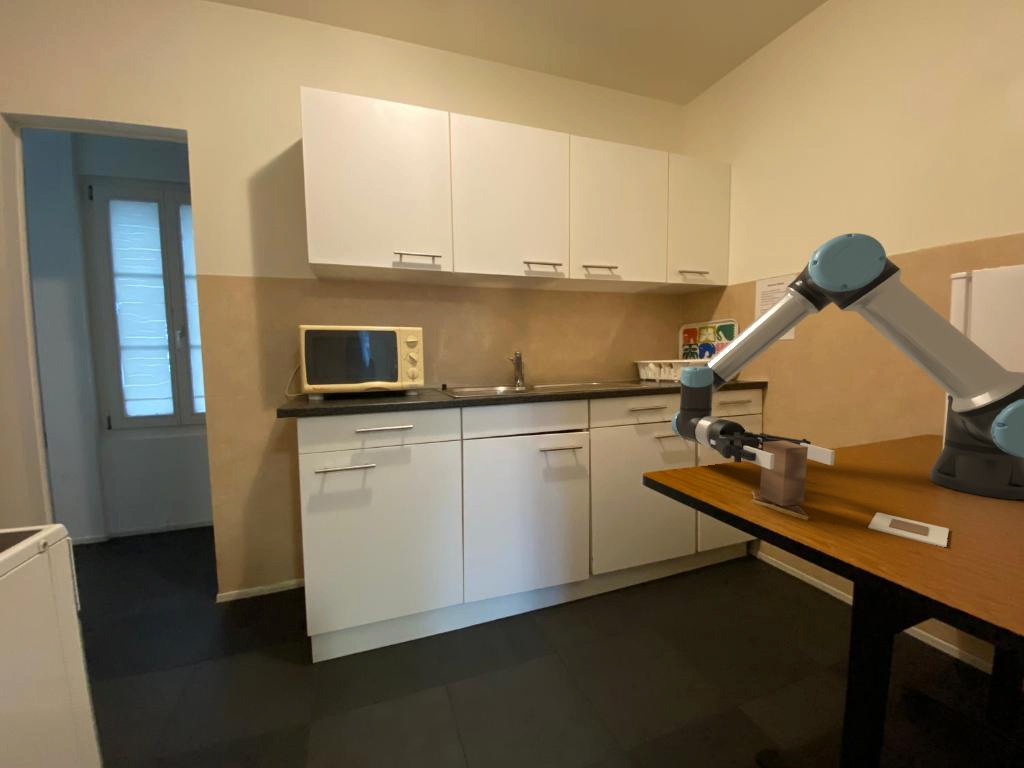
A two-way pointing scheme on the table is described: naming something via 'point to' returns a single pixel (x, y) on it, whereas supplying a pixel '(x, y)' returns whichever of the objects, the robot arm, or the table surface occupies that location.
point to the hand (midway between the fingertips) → (803, 460)
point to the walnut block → (784, 473)
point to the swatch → (910, 529)
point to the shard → (790, 510)
